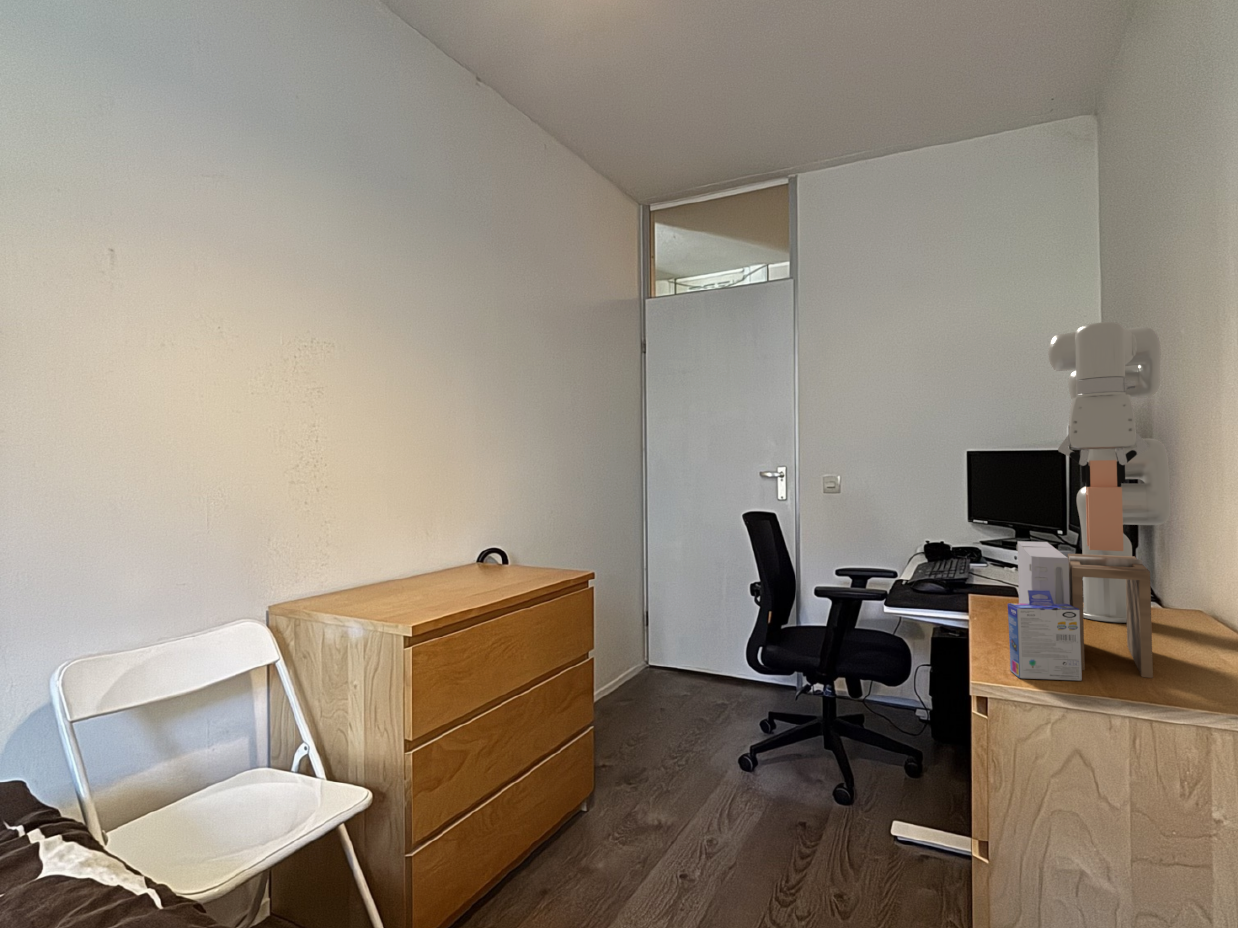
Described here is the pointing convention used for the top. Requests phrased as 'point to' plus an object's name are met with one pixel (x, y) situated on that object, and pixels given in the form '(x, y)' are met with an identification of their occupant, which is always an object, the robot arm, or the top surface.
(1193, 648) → the top surface
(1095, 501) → the salmon stepped block
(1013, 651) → the ink cartridge box
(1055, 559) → the game console
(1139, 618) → the wooden rack
